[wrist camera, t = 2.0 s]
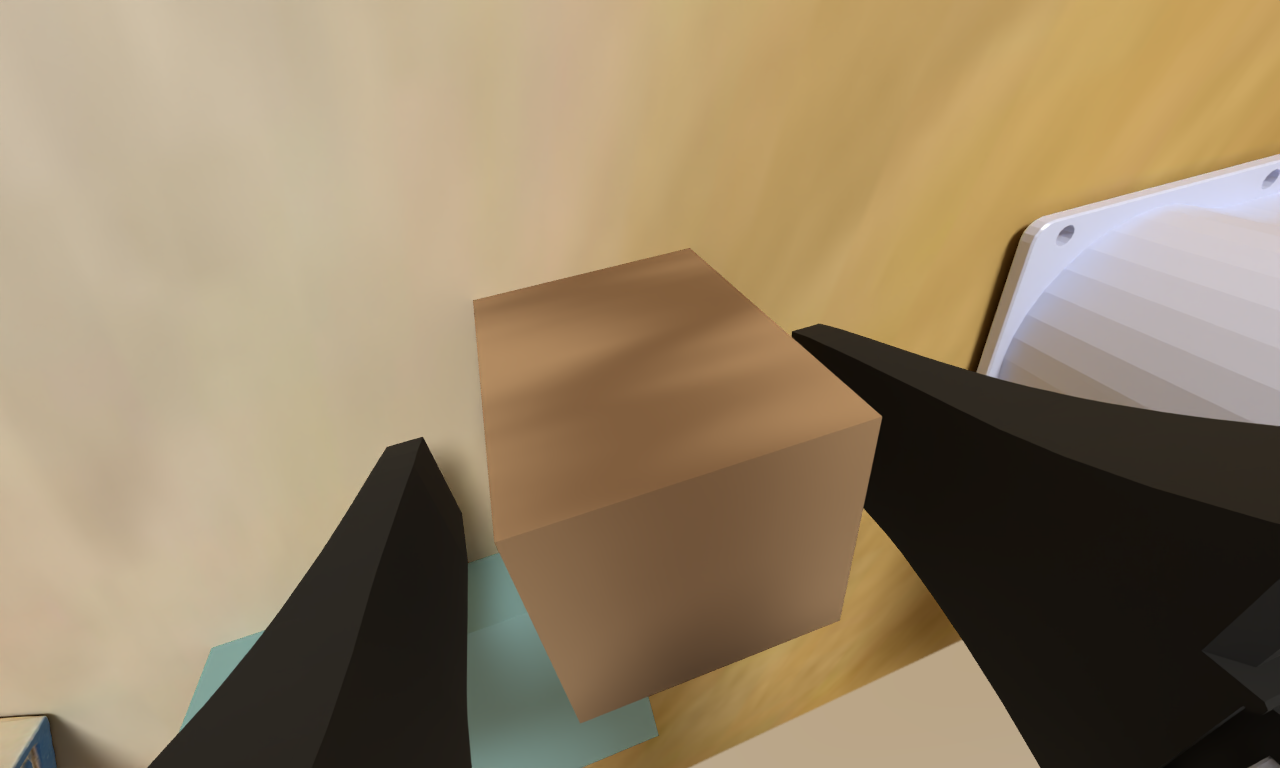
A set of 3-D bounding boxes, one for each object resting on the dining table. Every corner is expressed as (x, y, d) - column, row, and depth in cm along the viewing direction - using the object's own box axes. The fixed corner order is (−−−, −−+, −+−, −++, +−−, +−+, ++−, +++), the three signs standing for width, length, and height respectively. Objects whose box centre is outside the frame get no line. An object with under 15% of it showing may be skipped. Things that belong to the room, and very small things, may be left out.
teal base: (594, 507, 15) (617, 580, 13) (638, 668, 21) (658, 735, 19) (217, 631, 13) (177, 737, 11) (383, 768, 19) (376, 853, 17)
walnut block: (689, 248, 11) (882, 415, 6) (700, 412, 13) (839, 620, 9) (472, 299, 10) (494, 542, 5) (530, 463, 12) (580, 723, 8)
